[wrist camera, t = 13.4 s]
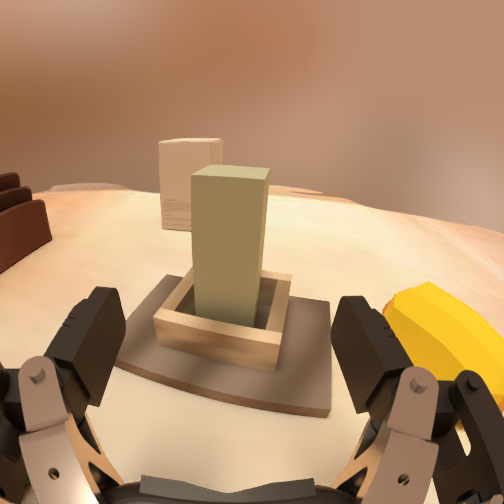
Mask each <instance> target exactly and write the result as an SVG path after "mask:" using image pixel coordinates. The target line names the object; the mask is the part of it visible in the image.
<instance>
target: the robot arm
mask: <svg viewBox="0 0 504 504" xmlns="http://www.w3.org/2000/svg"><path fill="white" fill-rule="evenodd" d="M67 317H68V318H66V319H65V321H64V323H63V324H62V326H61V327H60V329H59V330H58V332H57V334H56V335H55V337H54V339H53V340H52V342H51V344H50V345H49V347H48V349H47V350H46V352H45V354H44V355H43V356H36V357H32V358H30V359H28V360H27V361H26V362H25V363H24V364H23V365H22V366H21V368H20V369H5V368H4V367H3V365H2V364H1V362H0V413H1V414H2V415H3V416H4V417H3V420H2V423H1V425H0V504H21V498H22V492H23V486H24V480H25V475H26V471H27V473H28V476H29V479H30V482H31V485H32V488H33V490H34V493H35V496H36V498H37V501H38V503H39V504H423V503H424V500H425V498H426V495H427V491H428V488H429V485H430V482H431V478H433V481H434V485H435V488H436V492H437V496H438V500H439V504H504V417H503V415H502V413H501V411H500V409H499V407H498V405H497V403H496V402H495V400H494V398H493V396H492V394H491V392H490V391H489V389H488V387H487V385H486V384H485V382H484V380H483V379H482V377H481V376H480V375H479V374H477V373H476V372H474V371H471V370H463V371H461V372H460V373H459V374H458V376H457V377H456V378H455V380H454V381H447V380H437V379H436V378H435V376H434V375H433V374H432V373H431V372H430V371H429V370H427V369H425V368H422V367H418V366H414V365H413V363H412V361H411V360H410V358H409V356H408V354H407V353H406V351H405V349H404V348H403V346H402V344H401V343H400V341H399V339H398V338H397V337H396V334H395V333H394V331H393V330H392V329H391V326H390V325H389V323H388V322H387V320H386V318H385V317H384V316H383V315H382V314H380V313H379V312H378V311H377V310H376V309H371V307H370V306H369V304H368V303H367V301H366V299H365V298H364V297H363V296H343V297H342V298H341V299H340V302H339V305H338V308H337V312H336V315H335V318H334V321H333V324H332V327H331V343H332V346H333V349H334V351H335V354H336V357H337V360H338V362H339V365H340V368H341V370H342V373H343V376H344V379H345V381H346V384H347V387H348V390H349V393H350V396H351V398H352V401H353V404H354V407H355V410H356V413H357V414H359V413H364V412H369V415H370V418H369V419H368V421H367V423H366V426H365V428H364V430H363V433H362V435H361V437H360V439H359V442H358V444H357V446H356V448H355V450H354V452H353V454H352V456H351V459H350V460H349V462H348V464H347V466H346V467H345V468H344V470H343V471H342V472H341V473H340V475H339V476H338V478H337V479H336V481H335V482H334V484H333V486H332V488H330V487H326V486H320V485H314V479H313V478H310V479H303V480H295V481H287V482H276V483H270V484H266V485H263V486H259V487H255V488H251V489H247V490H243V491H238V492H234V493H222V492H218V491H214V490H210V489H207V488H203V487H199V486H196V485H193V484H190V483H187V482H183V481H177V480H169V479H162V478H156V477H150V476H145V475H141V482H134V483H127V484H124V482H123V481H122V479H121V477H120V476H119V474H118V473H117V471H116V470H115V469H114V467H113V466H112V465H111V463H110V462H109V460H108V459H107V457H106V455H105V453H104V451H103V449H102V447H101V445H100V443H99V441H98V439H97V436H96V434H95V432H94V429H93V427H92V425H91V422H90V420H89V417H88V415H87V413H86V412H85V411H86V408H87V406H88V404H89V405H92V406H96V407H99V406H100V403H101V400H102V397H103V394H104V391H105V388H106V385H107V383H108V380H109V377H110V374H111V371H112V369H113V366H114V363H115V361H116V358H117V355H118V353H119V350H120V348H121V345H122V343H123V340H124V337H125V333H126V321H125V317H124V314H123V310H122V306H121V302H120V297H119V293H118V291H117V289H116V288H109V287H98V286H97V287H95V288H94V290H93V291H92V293H91V294H90V296H89V297H88V299H83V300H82V301H81V302H79V303H78V304H77V305H75V306H74V307H73V309H72V310H71V312H70V313H69V315H68V316H67ZM460 422H462V425H463V427H464V429H465V432H466V434H467V436H468V439H469V441H470V444H471V450H470V453H469V455H468V456H466V454H465V452H464V449H463V447H462V444H461V442H460V439H459V437H458V434H457V432H456V429H455V426H457V425H458V424H459V423H460Z"/></svg>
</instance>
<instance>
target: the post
mask: <svg viewBox="0 0 504 504" xmlns="http://www.w3.org/2000/svg"><path fill="white" fill-rule="evenodd" d="M269 174H270V169H268V168H257V167H244V166H229V165H209V166H207V167H205V168H203V169H201V170H199V171H197V172H195V173H193V174H191V232H192V259H193V278H194V295H195V309H196V316H197V317H201V318H206V319H210V320H215V321H220V322H225V323H230V324H235V325H240V326H245V327H251V328H255V322H256V317H257V311H258V302H259V291H260V280H261V269H262V258H263V246H264V235H265V223H266V211H267V199H268V187H269Z"/></svg>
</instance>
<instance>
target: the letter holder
mask: <svg viewBox="0 0 504 504" xmlns="http://www.w3.org/2000/svg"><path fill="white" fill-rule="evenodd" d="M51 240H52V235H51V232H50V227H49V223H48V218H47V213H46V207H45V203H44V201H43V200H32V193H31V189H30V187H28V186H25V187H20V178H19V175H18V173H16V172H12V173H6V174H1V175H0V274H1V273H2V272H4V271H5V270H6V269H8V268H9V267H11V266H12V265H13V264H15V263H16V262H18V261H19V260H21V259H22V258H24V257H25V256H27V255H28V254H30V253H31V252H33V251H34V250H36V249H38V248H39V247H41V246H42V245H44V244H46V243H47V242H49V241H51Z"/></svg>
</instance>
